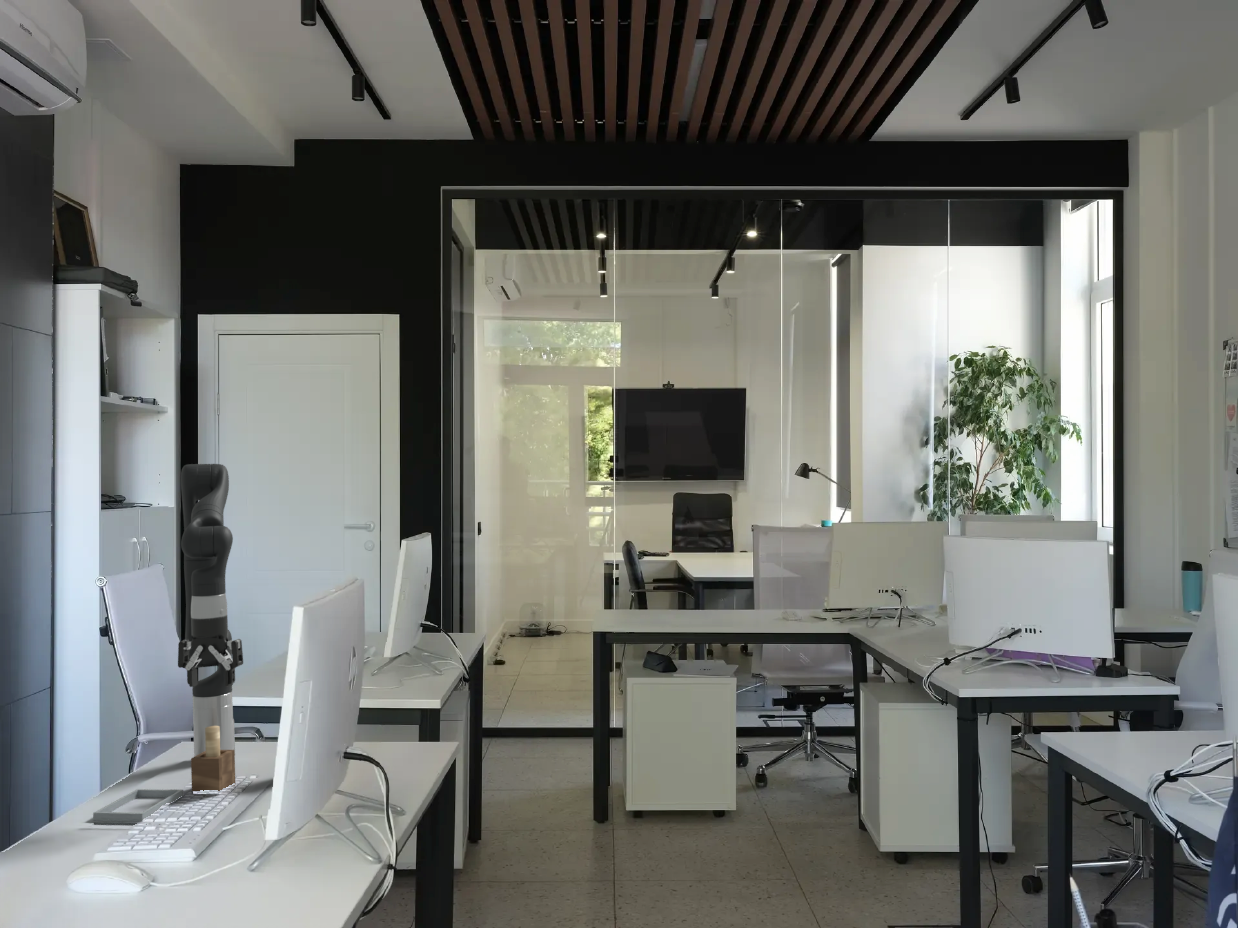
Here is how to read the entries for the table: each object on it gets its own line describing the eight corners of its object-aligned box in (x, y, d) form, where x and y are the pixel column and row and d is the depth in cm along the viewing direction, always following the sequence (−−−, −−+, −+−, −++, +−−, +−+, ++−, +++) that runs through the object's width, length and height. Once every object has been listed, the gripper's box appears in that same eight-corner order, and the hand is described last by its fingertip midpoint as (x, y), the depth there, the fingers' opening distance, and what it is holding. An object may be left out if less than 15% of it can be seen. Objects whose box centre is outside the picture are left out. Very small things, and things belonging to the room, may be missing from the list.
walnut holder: (208, 788, 213) (207, 749, 213) (235, 788, 212) (234, 749, 212) (192, 798, 206) (190, 758, 206) (219, 799, 206) (218, 758, 206)
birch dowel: (211, 786, 211) (209, 725, 211) (223, 787, 211) (222, 725, 211) (204, 791, 208) (202, 729, 208) (216, 791, 208) (214, 729, 208)
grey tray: (137, 799, 207) (137, 788, 207) (183, 800, 205) (183, 789, 205) (93, 824, 192) (93, 812, 192) (142, 825, 191) (142, 813, 191)
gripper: (247, 611, 212) (249, 681, 212) (188, 612, 214) (190, 682, 214) (230, 616, 205) (232, 689, 205) (169, 617, 206) (171, 690, 206)
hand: (211, 685), depth 209 cm, fingers open, 8 cm apart
